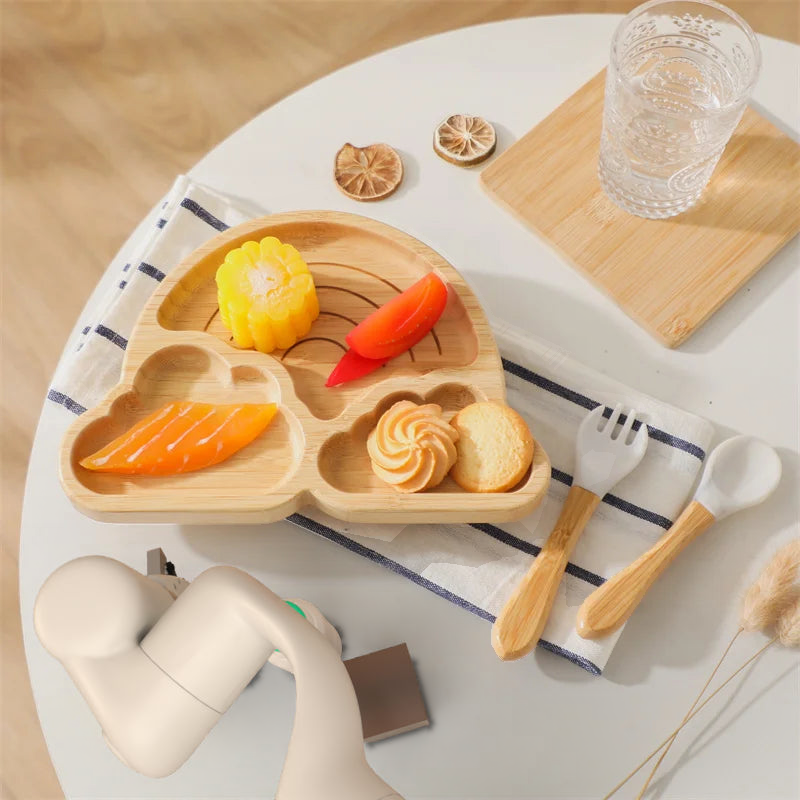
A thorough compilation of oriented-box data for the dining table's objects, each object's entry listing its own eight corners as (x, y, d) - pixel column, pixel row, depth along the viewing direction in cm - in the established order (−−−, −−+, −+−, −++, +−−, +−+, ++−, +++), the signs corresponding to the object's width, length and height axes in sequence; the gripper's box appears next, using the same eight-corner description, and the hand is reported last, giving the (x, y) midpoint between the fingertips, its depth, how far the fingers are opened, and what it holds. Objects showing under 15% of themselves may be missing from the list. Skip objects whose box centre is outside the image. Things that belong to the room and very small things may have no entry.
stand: (429, 724, 106) (427, 719, 81) (371, 742, 105) (352, 742, 81) (412, 664, 108) (405, 642, 84) (356, 681, 108) (332, 664, 83)
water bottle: (320, 607, 111) (289, 571, 88) (354, 656, 109) (331, 632, 85) (272, 643, 110) (228, 616, 86) (305, 692, 107) (269, 678, 84)
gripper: (206, 727, 69) (252, 731, 85) (165, 513, 75) (214, 555, 91) (109, 756, 68) (173, 755, 84) (76, 539, 75) (141, 576, 91)
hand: (195, 651), depth 88 cm, fingers open, 9 cm apart
